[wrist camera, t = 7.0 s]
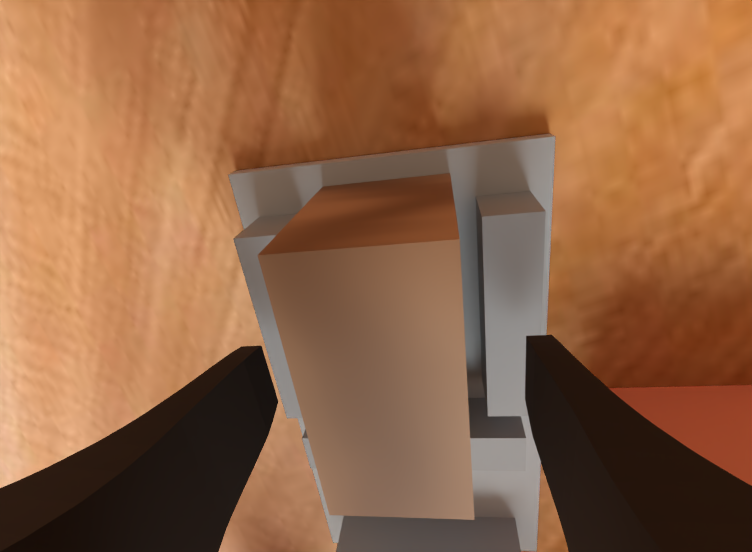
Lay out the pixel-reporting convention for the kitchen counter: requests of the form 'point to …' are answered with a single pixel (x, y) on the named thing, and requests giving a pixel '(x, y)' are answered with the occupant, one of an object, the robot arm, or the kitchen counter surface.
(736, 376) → the kitchen counter surface
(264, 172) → the jig
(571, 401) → the robot arm
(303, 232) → the small taupe brick
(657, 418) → the pink block
